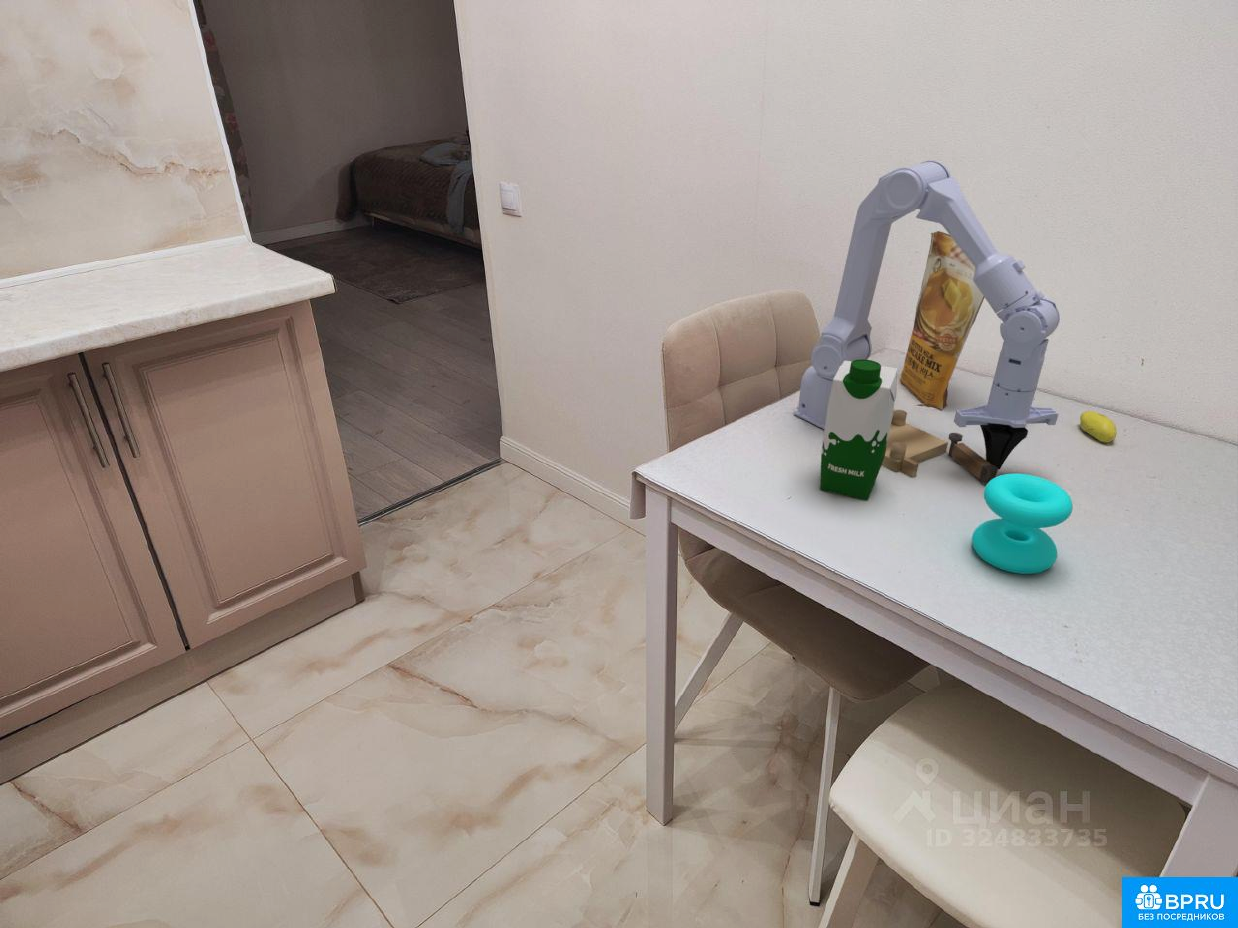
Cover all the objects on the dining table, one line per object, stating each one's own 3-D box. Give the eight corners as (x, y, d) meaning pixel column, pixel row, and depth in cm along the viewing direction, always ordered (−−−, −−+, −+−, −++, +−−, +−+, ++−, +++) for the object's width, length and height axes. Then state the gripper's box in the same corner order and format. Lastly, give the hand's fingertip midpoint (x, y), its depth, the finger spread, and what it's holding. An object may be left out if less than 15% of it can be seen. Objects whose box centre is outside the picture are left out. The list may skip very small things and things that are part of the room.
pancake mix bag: (921, 371, 156) (950, 228, 143) (968, 412, 140) (1005, 254, 126) (889, 373, 156) (914, 229, 142) (932, 414, 139) (965, 256, 126)
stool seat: (846, 446, 129) (849, 425, 127) (898, 427, 135) (902, 407, 133) (908, 478, 120) (913, 456, 118) (961, 456, 126) (966, 435, 124)
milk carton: (812, 492, 116) (829, 365, 107) (825, 464, 123) (842, 344, 114) (873, 505, 113) (897, 376, 103) (883, 476, 120) (906, 353, 110)
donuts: (1072, 519, 92) (981, 496, 96) (1049, 587, 96) (963, 563, 101) (1078, 481, 99) (993, 462, 103) (1056, 547, 104) (976, 526, 108)
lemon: (1094, 446, 129) (1101, 425, 127) (1070, 424, 136) (1077, 404, 134) (1120, 446, 129) (1127, 425, 127) (1095, 424, 136) (1101, 404, 134)
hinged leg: (950, 456, 125) (953, 443, 124) (960, 455, 125) (963, 442, 124) (983, 483, 117) (987, 469, 116) (994, 482, 118) (998, 468, 117)
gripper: (977, 396, 110) (957, 480, 116) (1079, 394, 110) (1053, 478, 117) (956, 377, 116) (938, 457, 122) (1052, 374, 116) (1029, 455, 123)
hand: (992, 466), depth 120 cm, fingers closed
